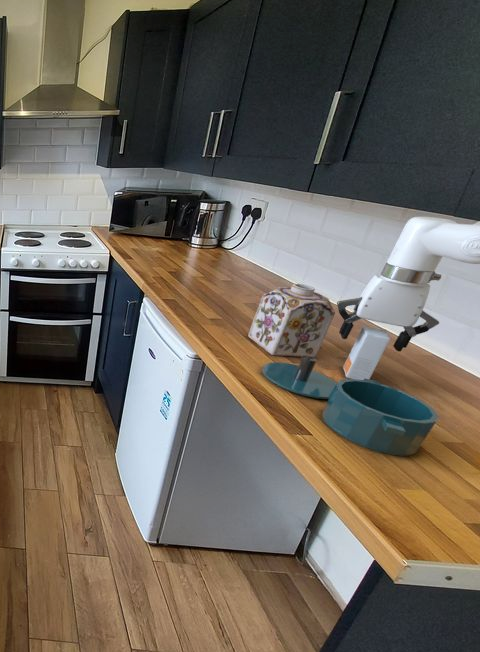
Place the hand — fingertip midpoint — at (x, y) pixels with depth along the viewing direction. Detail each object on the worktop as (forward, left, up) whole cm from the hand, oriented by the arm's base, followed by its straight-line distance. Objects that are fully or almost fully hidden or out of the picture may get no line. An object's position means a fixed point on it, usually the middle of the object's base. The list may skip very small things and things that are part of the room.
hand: (369, 342), depth 95 cm
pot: (+2, +27, -9) cm, 29 cm away
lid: (+12, +13, -8) cm, 19 cm away
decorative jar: (+15, -7, -9) cm, 19 cm away
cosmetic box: (0, 0, -9) cm, 9 cm away
